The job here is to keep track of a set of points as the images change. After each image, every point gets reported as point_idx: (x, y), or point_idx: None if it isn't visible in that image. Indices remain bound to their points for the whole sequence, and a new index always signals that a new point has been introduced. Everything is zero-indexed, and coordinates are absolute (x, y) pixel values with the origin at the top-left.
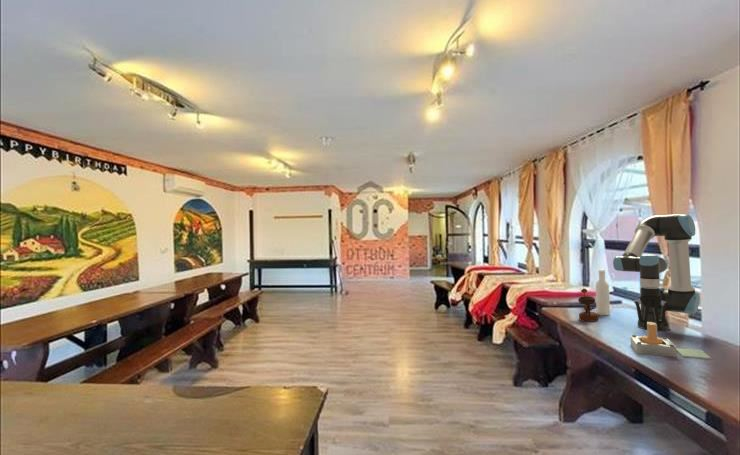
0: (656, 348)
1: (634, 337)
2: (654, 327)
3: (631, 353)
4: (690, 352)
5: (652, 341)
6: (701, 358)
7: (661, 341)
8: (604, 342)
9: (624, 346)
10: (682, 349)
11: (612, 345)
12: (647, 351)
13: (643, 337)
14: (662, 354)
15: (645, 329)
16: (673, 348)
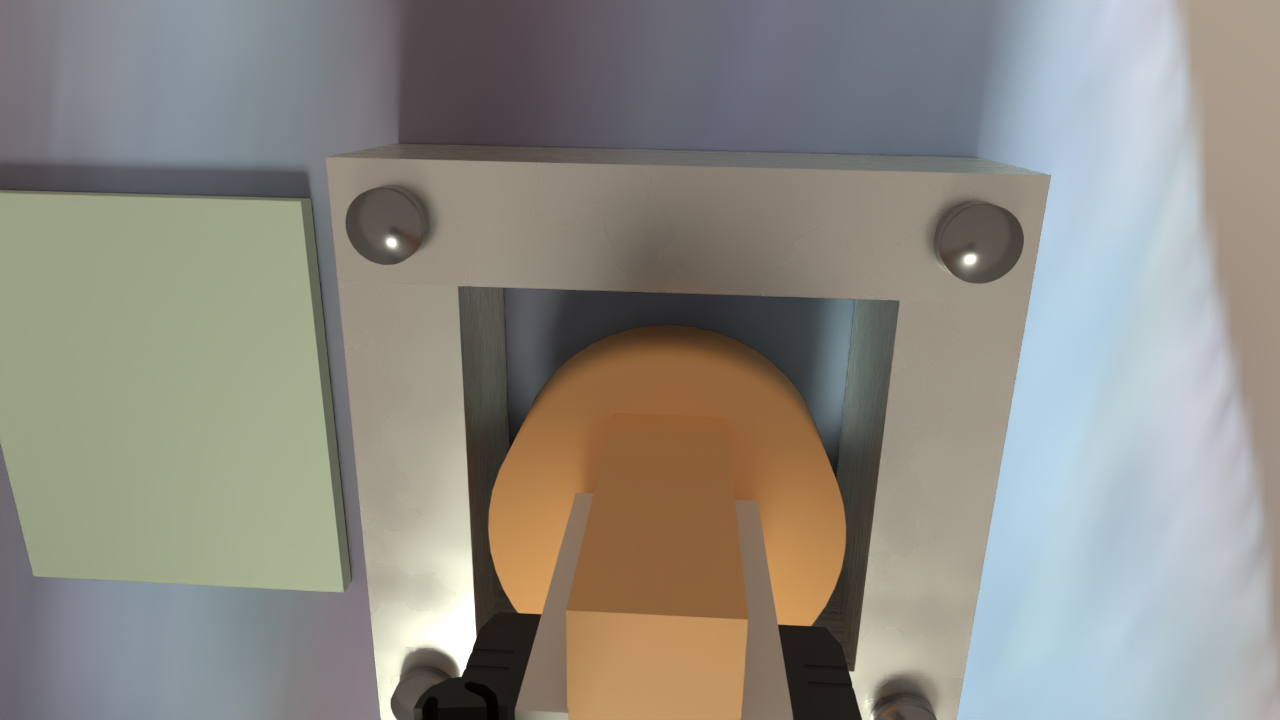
0: (673, 159)
1: (916, 663)
2: (618, 564)
3: (1061, 144)
4: (176, 411)
5: (697, 362)
6: (73, 193)
7: (525, 425)
8: (1275, 680)
9: (1033, 539)
10: (259, 540)
11: (1210, 547)
12: (817, 159)
13: (811, 555)
14: (589, 150)
15: (805, 634)
16: (386, 157)
